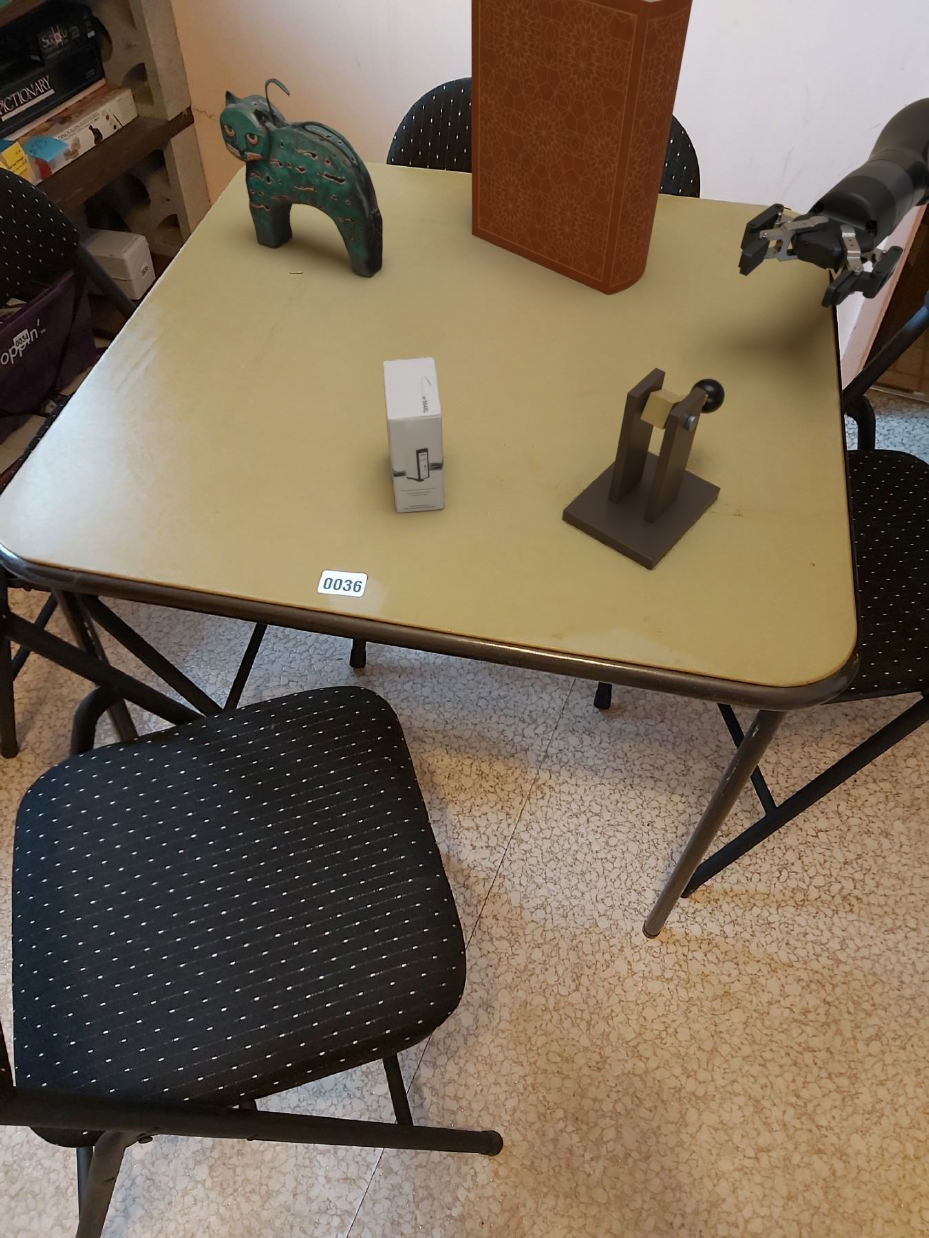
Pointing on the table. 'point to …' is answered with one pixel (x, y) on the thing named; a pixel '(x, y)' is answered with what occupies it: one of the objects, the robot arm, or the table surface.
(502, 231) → the book
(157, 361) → the table surface
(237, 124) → the ceramic cat
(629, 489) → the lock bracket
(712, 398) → the lever
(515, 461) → the table surface
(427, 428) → the ink box
